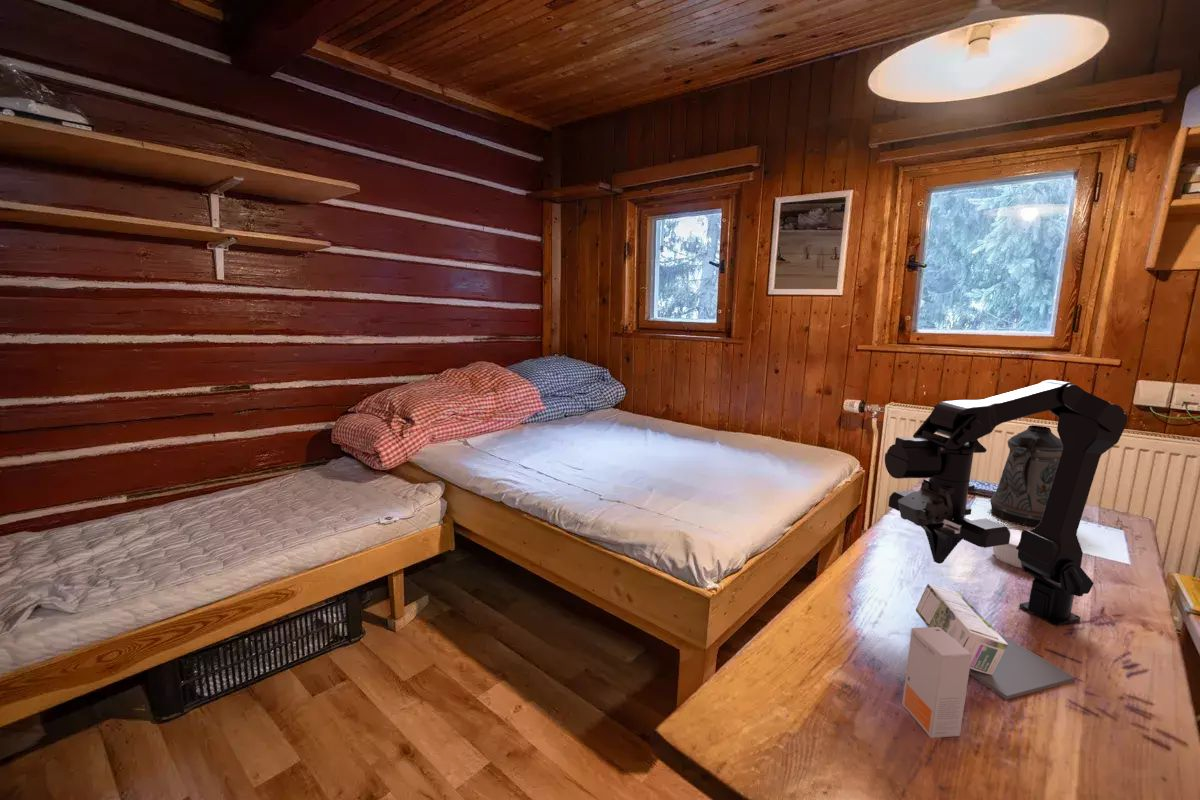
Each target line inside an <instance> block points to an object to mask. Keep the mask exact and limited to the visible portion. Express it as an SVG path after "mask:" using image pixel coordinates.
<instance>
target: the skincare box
mask: <svg viewBox="0 0 1200 800" xmlns="http://www.w3.org/2000/svg"><path fill="white" fill-rule="evenodd" d="M910 634H911V635H910V640H909V648H908V655H907V656H908V657H907V663H906V672H905V680H904V687H903V694H902V701H901V702H902V704H901V706H903V707H904V708H905V709H906V710H907V712H908V713H909V714H910V715H911V716H912V718H914V720H915V721H916V722H917V723H918V724H919V726H921V728H922V730H923V731H925V733H926V734H927V735H928V737H930V738H931V739H934V738H947V737H948V738H949V737H952V738H953V737H959V736H960V735H961V731H962V729H961V728H962V722H963V719H964V718H963V716H964V710H965V702H966V695H967V689H968V682H969V676H970V674H969V670H970V664H971V658H972V654H971V653H970V652H968V651H967V650H966V649H965V648H964V647H962V646H961V645H960V644H959V642H958V641H956V640H955V639H954V638H952V637H951V636H949V635H948V634H947V633H946V632H945V631H943V630H942V629H941V628H940V627H928V626H926V627H924V626H923V627H913V628H911V633H910Z"/></svg>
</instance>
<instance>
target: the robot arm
mask: <svg viewBox="0 0 1200 800" xmlns="http://www.w3.org/2000/svg"><path fill="white" fill-rule="evenodd" d="M1046 411H1047V412H1049V413H1051V414H1053V415H1054V416H1055V417H1057V418H1058V421H1057V427H1056V431H1057V434H1058V438H1059V439H1060V440H1061V442H1062V445H1063V450H1062V453H1061V456H1060V460H1059V463H1058V466H1057V470H1056V473H1055V476H1054V480H1053V483H1052V486H1051V490H1050V493H1049V496H1048V500H1047V503H1046V506H1045V510H1044V513H1043V516H1042V519H1041V522H1040V524H1039V525H1037V526H1036V527H1035V528H1033V527H1032V529H1030V530H1028V529H1023V530H1021V531H1022V533H1021V539H1020V542H1019V544H1018V546H1017V547H1016V549H1017V550H1018V559H1020V561H1021V565H1022V568H1021V569H1022V572H1023V573H1025V574H1028V575H1030V576H1032V577H1033V579H1032V584H1031V588H1030V593H1029V598H1028V601H1025V602H1021V603H1019V604H1018V605H1019V608H1021V609H1023V610H1025V611H1028V612H1029V613H1031V614H1033V615H1034V616H1036V617H1039V618H1041V619H1043V620H1045V621H1047V622H1049V623H1050V624H1052V625H1055V626H1060V625H1064V624H1069V623H1072V622H1078V621H1080V620H1081V616H1080V615H1077V614H1076V613H1073V612H1072V609H1073V604H1074V603H1073V602H1074V598H1075V596H1077V597H1083V595H1087V594H1089V593H1090V592H1091V590H1092V588H1093V586H1094V581H1093V580H1092V579H1091V578H1090V577H1089V576H1088V574H1087V573H1086V572H1085V571H1084V569H1083V568H1082V561H1083V555H1084V554H1083V550H1082V547H1081V543H1080V541H1079V539H1078V536H1077V533H1078V530H1079V527H1080V523H1081V520H1082V516H1083V514H1084V510H1085V507H1086V504H1087V500H1088V499H1089V494H1090V491H1091V487H1092V485H1093V482H1094V478H1095V475H1096V472H1097V469H1098V465H1099V462H1100V459H1101V457H1102V455H1103V454H1105V453H1106V452H1107V451H1108V450H1109V449H1111V448H1113V447H1114V446H1115V445H1117V444H1118V442H1119V440H1120V439H1121V437H1122V436H1123V435H1122V434H1123V433H1124V430H1125V429H1126V428H1127V427H1126V426H1127V424H1128V418H1129V417H1128V414H1127V413H1125V410H1124V408H1123V407H1121V405H1118V404H1115V403H1111V402H1109V401H1107V400H1106V399H1103V398H1101V397H1099V396H1096V395H1094V394H1093V393H1090V392H1088V391H1086V390H1084V389H1083V388H1081V387H1080V386H1079V385H1077V384H1075V383H1073V382H1069V381H1063V380H1062V381H1061V380H1055V379H1047V380H1043V381H1041V382H1039V383H1037V384H1033V385H1029V386H1027V387H1023V388H1022V387H1021V388H1018V389H1015V390H1013V391H1009V392H1005V393H1001V394H998V395H994V396H990V397H987V398H984V399H956V400H945V401H941V402H939V403H937V404H935V405H934V407H933V409H932V411H931V413H930V414H929V416H928V417H927V418H925V420H924V421H923V423H922V424H921V425H920V427H918V429H917V430H916V431H915V432H914V434H913V436H912V437H913V438H912V437H911V438H910V437H904V436H900V437H899V436H897V437H895V442H894V444H892V445H891V446H889V447H888V449H887V451H886V453H885V454H884V465H885V468H886V471H887V473H888V474H889V475H890V477H892V478H894V479H898V480H900V479H901V480H902V479H923V481H922V482H921V486H920V488H919V490H917V491H916V490H914V489H909V490H907V489H906V490H900V491H899V490H898V491H893V492H892V493H891V494H890V495H889V497H888V498H889V499H888V507H889V508H891V509H893V510H896V511H897V512H899V513H900V518H901V519H903V520H904V521H905V520H907V521H909V522H912V523H913V524H914V525H915V526H918V527H921V528H922V529H923V530H924V532H925V535H926V538H927V541H928V544H929V548H930V552H931V556H932V560H933V562H934V563H936V564H943V563H944V562H945V560H946V559H947V558H948V556H949V555H950V554H951V553H952V552H953V550H954V549H955V548H956V547H957V546H958V544H959V543H960V542H961V541H962V540H963V541H965V542H968V543H969V544H972V545H975V546H977V547H980V548H993V546H999V545H1005V544H1009V541H1010V531H1009V529H1010V528H1008V526H1006V525H1003V524H1001V523H999V522H996V521H993V520H991V519H988V518H979V519H970V518H969V517H966V516H968V515H971V514H972V508H971V507H969V506H967V502H968V495H969V493H971V492H975V487H976V485H974V484H971V483H970V481H971V474H972V466H973V458H974V454H979V453H980V454H983V453H986V452H987V448H986V447H985V446H983V444H981V443H980V442H979V439H981V438H982V437H985V436H987V435H989V434H991V433H992V432H993V431H994V430H995V428H996V427H997V426H999V425H1001V424H1004V423H1008V422H1012V421H1015V420H1018V419H1023V418H1025V417H1029V416H1033V415H1037V414H1039V413H1043V412H1046Z"/></svg>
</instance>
